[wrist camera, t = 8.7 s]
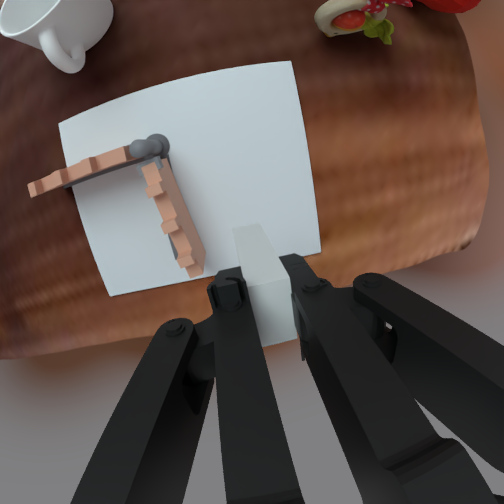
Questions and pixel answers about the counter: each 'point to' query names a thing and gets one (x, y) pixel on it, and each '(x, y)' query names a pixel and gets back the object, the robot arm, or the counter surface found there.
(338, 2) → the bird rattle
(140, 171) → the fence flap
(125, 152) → the fence fixed
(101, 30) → the mug
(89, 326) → the counter surface
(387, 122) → the counter surface
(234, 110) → the card
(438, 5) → the tomato
